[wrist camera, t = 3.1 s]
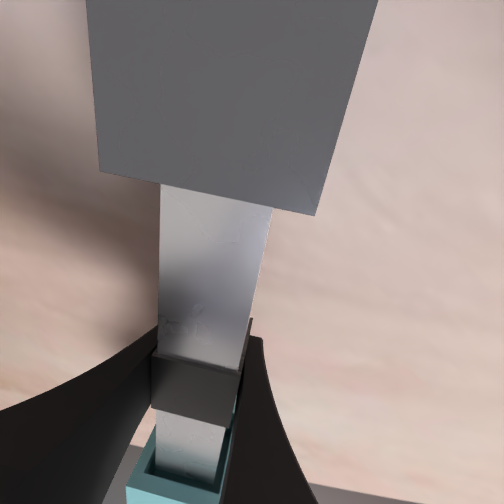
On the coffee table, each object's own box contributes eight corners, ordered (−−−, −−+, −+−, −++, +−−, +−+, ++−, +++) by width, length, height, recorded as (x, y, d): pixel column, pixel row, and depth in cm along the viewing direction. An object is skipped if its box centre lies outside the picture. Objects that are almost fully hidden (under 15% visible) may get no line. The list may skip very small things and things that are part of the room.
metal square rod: (335, -51, 6) (380, -237, 3) (230, 419, 15) (215, 489, 12) (216, -68, 6) (154, -258, 3) (178, 406, 15) (151, 471, 12)
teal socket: (249, 378, 17) (226, 514, 11) (241, 409, 18) (217, 545, 12) (185, 362, 17) (125, 486, 11) (182, 394, 19) (128, 519, 12)
